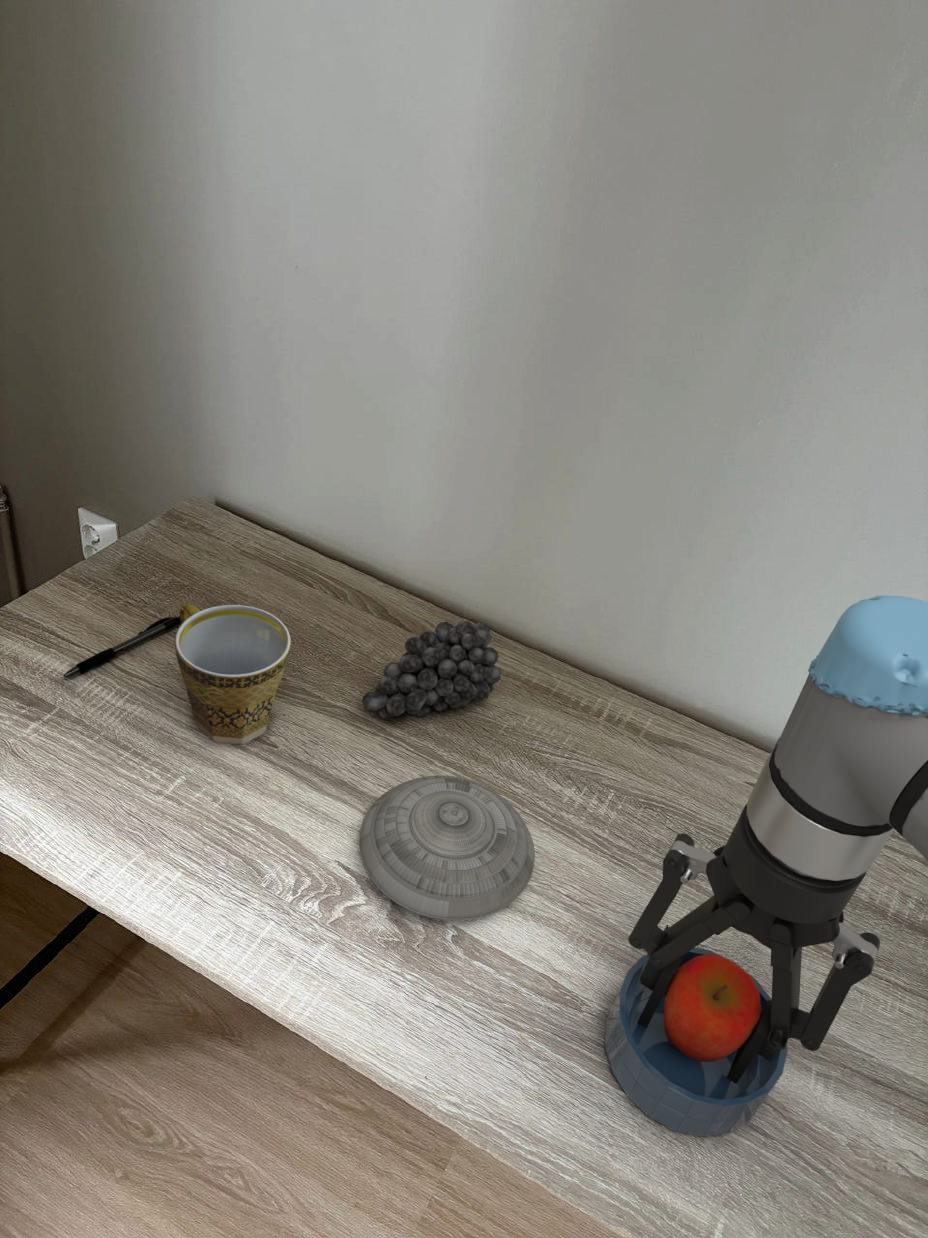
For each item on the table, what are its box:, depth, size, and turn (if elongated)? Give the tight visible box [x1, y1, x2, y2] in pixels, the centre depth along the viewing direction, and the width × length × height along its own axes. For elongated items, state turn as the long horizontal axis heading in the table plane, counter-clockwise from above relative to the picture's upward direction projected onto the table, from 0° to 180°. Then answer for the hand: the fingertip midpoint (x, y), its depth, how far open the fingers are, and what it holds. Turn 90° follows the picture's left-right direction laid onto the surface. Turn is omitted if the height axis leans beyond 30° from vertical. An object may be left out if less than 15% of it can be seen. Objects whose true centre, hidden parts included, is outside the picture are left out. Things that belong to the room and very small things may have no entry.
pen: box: [63, 615, 182, 679], centre depth 98 cm, size 14×2×1 cm, turn 141°
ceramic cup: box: [174, 603, 292, 745], centre depth 90 cm, size 13×10×10 cm
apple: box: [664, 954, 761, 1062], centre depth 69 cm, size 6×6×8 cm
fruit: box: [361, 620, 502, 721], centre depth 96 cm, size 9×8×15 cm
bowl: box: [604, 946, 788, 1137], centre depth 71 cm, size 12×12×5 cm
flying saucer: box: [358, 775, 536, 922], centre depth 82 cm, size 15×15×6 cm
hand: (692, 1038), depth 71 cm, fingers closed on apple, 6 cm apart
